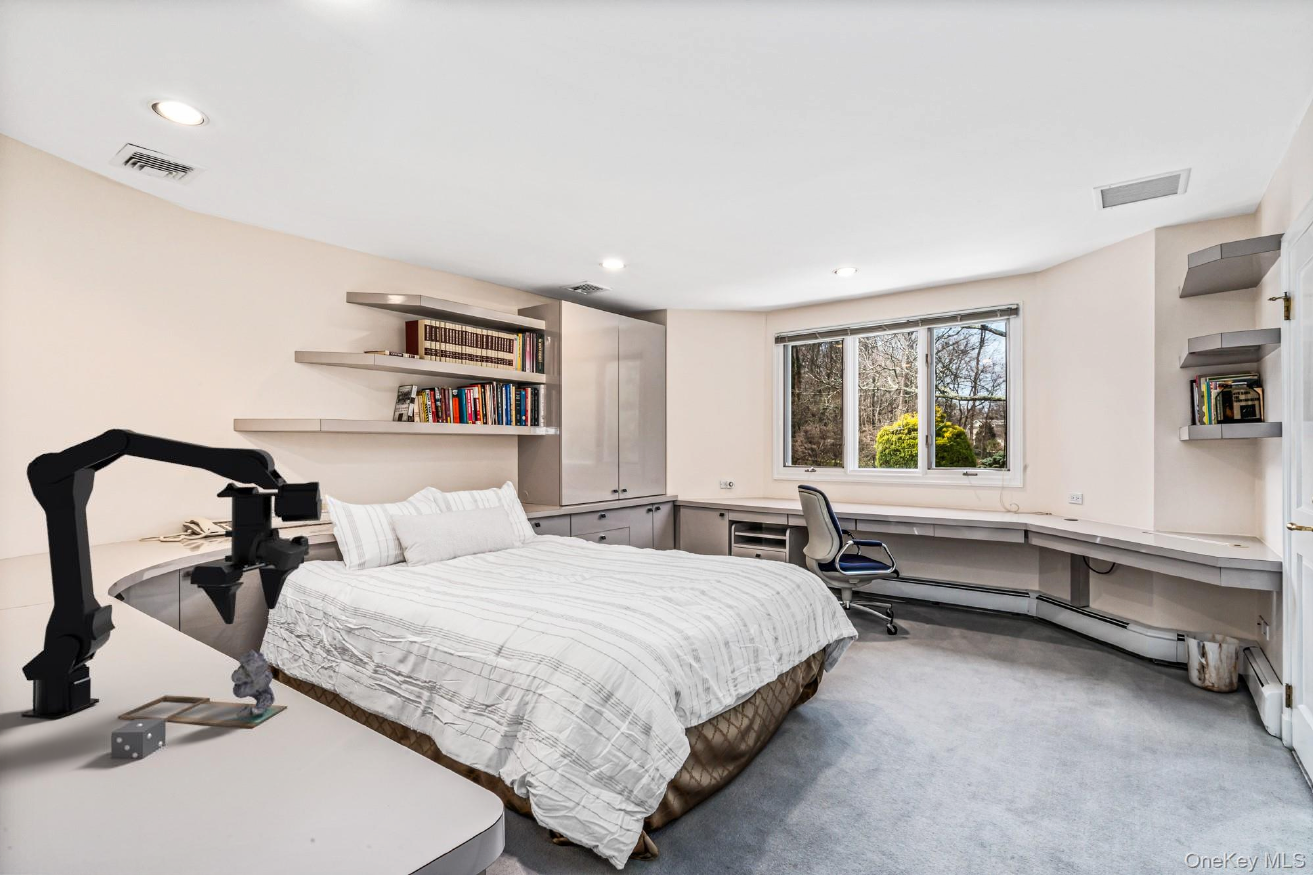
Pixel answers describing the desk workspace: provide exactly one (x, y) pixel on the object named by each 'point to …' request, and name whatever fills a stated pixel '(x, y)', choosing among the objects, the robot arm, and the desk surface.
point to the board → (224, 715)
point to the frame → (159, 700)
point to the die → (138, 739)
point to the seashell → (253, 683)
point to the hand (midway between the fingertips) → (251, 616)
